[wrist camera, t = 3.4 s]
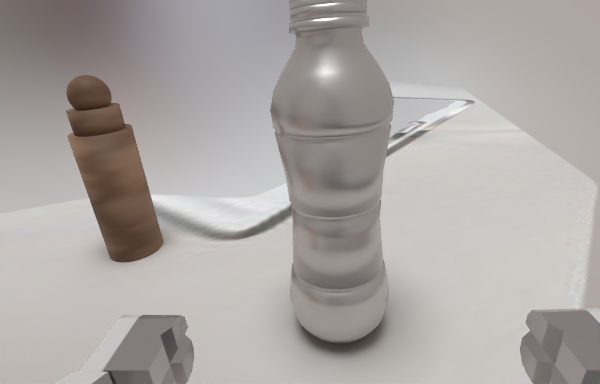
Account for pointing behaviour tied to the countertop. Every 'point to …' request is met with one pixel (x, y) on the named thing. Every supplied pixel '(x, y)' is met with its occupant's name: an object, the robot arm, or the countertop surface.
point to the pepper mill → (112, 171)
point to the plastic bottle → (334, 168)
